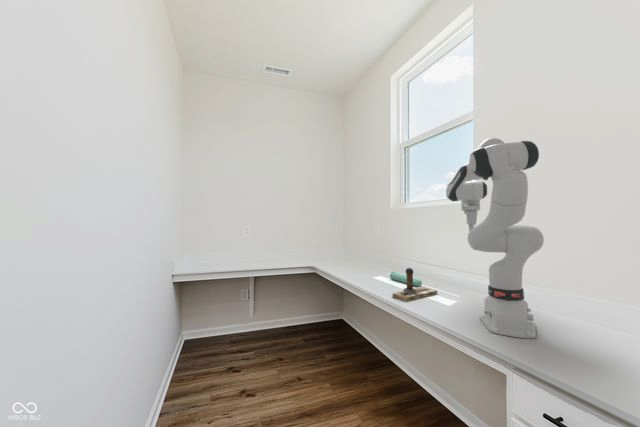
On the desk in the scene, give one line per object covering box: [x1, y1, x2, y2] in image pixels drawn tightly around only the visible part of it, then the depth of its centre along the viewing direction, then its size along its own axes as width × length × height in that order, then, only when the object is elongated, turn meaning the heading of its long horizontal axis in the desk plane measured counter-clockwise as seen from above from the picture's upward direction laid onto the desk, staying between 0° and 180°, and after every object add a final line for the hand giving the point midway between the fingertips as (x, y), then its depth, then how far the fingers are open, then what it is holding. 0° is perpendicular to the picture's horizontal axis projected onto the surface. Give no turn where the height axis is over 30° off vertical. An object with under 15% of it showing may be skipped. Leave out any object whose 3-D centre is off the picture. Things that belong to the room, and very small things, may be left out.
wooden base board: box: [392, 286, 438, 303], centre depth 153 cm, size 24×10×2 cm, turn 121°
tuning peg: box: [403, 267, 418, 294], centre depth 150 cm, size 5×7×13 cm
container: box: [389, 271, 423, 288], centre depth 183 cm, size 6×6×25 cm
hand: (471, 233), depth 149 cm, fingers closed
